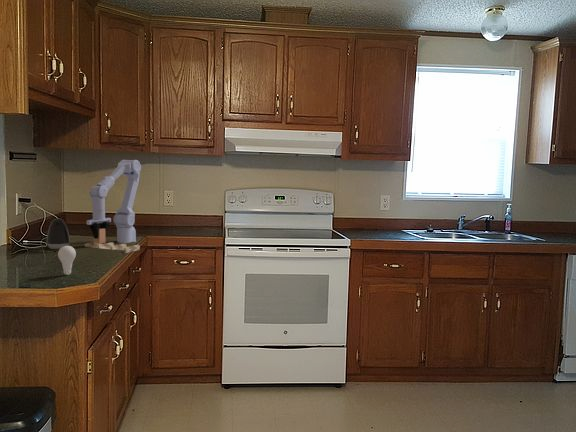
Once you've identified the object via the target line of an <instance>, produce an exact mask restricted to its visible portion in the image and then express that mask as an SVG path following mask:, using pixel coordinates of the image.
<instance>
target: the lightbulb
mask: <svg viewBox="0 0 576 432" xmlns="http://www.w3.org/2000/svg"><path fill="white" fill-rule="evenodd" d="M76 256H77V252H76V249H75V248H74V247H73V246H71V245H69V246H64V247H62V248H60V249H58V253H57V257H58V259H59V261H60V263H61V264H62V269H63V274H64V275H65V276H69V275H71V273H72V268H73V263H74V261H75V258H76Z"/></svg>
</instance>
